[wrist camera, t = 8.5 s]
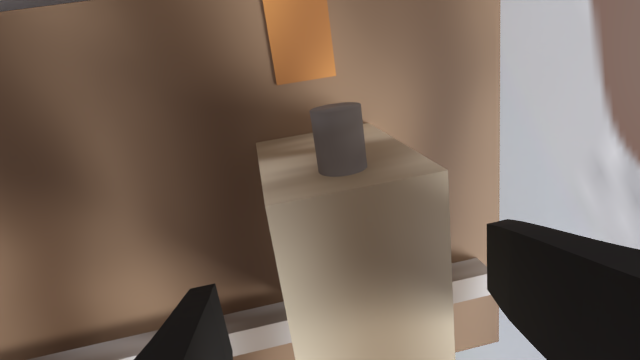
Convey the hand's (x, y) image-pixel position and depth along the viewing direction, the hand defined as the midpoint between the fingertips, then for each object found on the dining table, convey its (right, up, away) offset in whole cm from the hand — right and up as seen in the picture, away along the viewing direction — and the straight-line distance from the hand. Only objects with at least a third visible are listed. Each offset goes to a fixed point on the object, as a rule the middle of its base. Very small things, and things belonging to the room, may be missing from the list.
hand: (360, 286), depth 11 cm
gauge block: (-1, +2, +5) cm, 5 cm away
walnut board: (-5, +1, +6) cm, 8 cm away
